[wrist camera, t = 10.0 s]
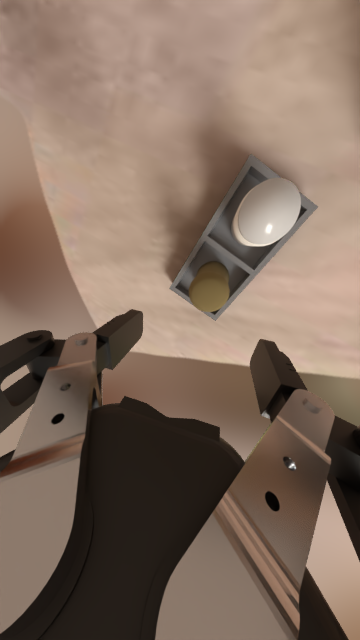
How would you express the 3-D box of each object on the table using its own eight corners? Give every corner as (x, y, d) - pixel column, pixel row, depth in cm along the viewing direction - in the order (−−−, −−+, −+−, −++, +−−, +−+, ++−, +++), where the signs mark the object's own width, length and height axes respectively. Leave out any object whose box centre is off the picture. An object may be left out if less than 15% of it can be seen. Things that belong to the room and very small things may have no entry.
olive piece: (189, 277, 29) (173, 294, 19) (214, 253, 26) (210, 257, 17) (210, 300, 30) (205, 327, 20) (236, 279, 27) (245, 298, 18)
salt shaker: (236, 201, 22) (247, 172, 14) (277, 205, 22) (316, 177, 13) (226, 243, 25) (230, 242, 16) (262, 248, 24) (286, 250, 15)
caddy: (247, 164, 21) (250, 153, 19) (306, 211, 22) (318, 206, 19) (173, 284, 31) (169, 288, 28) (215, 314, 32) (215, 320, 29)
